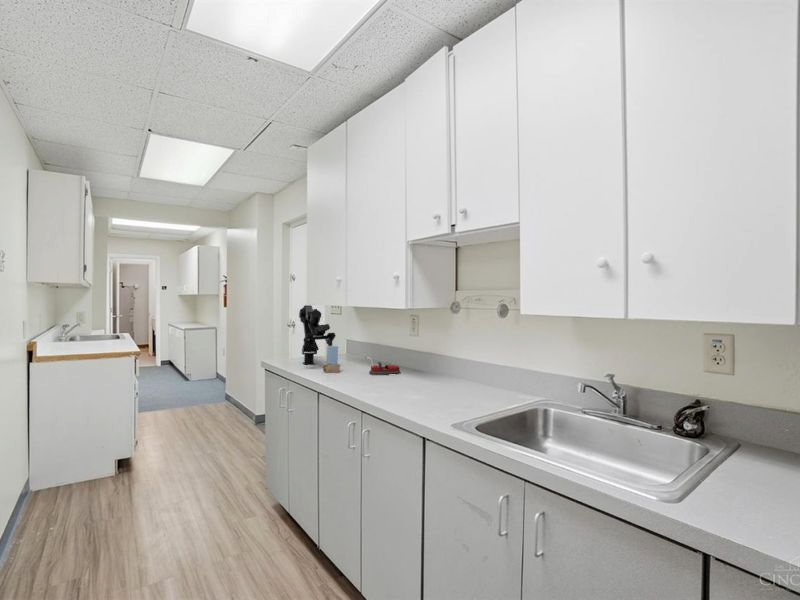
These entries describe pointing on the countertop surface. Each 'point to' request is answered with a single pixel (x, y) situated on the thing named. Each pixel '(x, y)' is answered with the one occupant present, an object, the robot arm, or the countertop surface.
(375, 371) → the bumper car
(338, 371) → the slab bottom
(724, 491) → the countertop surface
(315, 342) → the robot arm
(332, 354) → the pillar
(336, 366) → the slab top
